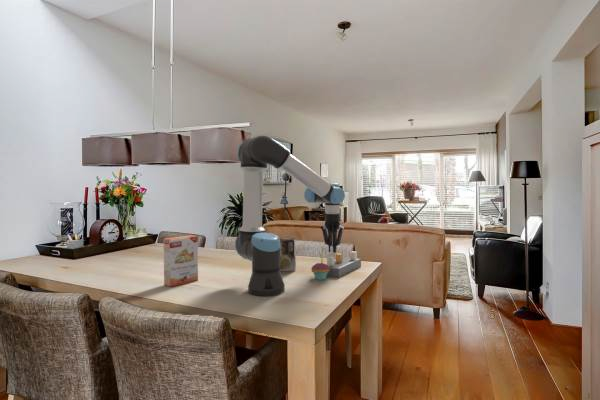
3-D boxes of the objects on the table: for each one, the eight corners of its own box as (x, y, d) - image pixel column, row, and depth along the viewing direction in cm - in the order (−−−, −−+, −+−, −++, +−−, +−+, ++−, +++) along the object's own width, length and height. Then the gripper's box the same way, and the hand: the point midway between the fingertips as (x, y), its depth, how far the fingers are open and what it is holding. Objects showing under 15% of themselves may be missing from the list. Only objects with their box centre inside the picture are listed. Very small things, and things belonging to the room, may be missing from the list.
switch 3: (354, 260, 182) (354, 252, 182) (350, 259, 183) (350, 252, 183) (356, 259, 185) (356, 251, 184) (352, 258, 186) (352, 251, 186)
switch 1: (331, 266, 169) (331, 258, 169) (327, 265, 171) (327, 257, 170) (334, 264, 172) (334, 256, 171) (330, 264, 173) (329, 256, 173)
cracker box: (170, 287, 150) (169, 239, 149) (163, 285, 154) (162, 238, 153) (199, 280, 161) (198, 235, 160) (191, 278, 165) (190, 234, 164)
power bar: (339, 277, 164) (339, 268, 164) (322, 274, 169) (322, 266, 169) (361, 266, 186) (361, 258, 186) (345, 264, 191) (345, 256, 191)
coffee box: (296, 268, 182) (295, 237, 182) (294, 271, 176) (294, 239, 175) (279, 268, 183) (278, 237, 183) (276, 271, 177) (276, 239, 176)
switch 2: (339, 262, 177) (339, 254, 177) (335, 262, 178) (335, 254, 178) (342, 261, 179) (342, 253, 179) (338, 260, 181) (338, 253, 180)
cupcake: (317, 275, 169) (316, 250, 168) (332, 277, 164) (332, 252, 164) (308, 279, 161) (308, 253, 161) (324, 282, 157) (324, 255, 156)
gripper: (347, 213, 179) (347, 258, 180) (324, 212, 186) (324, 255, 187) (340, 214, 173) (340, 261, 174) (317, 213, 180) (318, 258, 181)
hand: (332, 258), depth 181 cm, fingers closed
